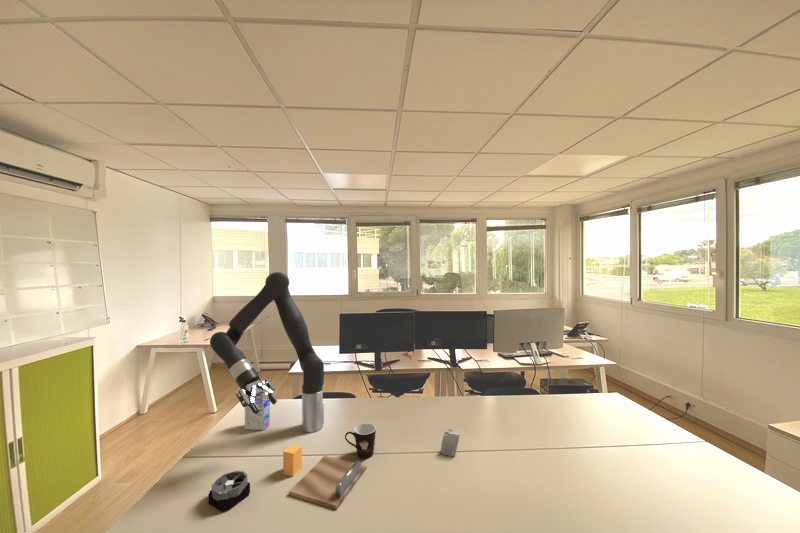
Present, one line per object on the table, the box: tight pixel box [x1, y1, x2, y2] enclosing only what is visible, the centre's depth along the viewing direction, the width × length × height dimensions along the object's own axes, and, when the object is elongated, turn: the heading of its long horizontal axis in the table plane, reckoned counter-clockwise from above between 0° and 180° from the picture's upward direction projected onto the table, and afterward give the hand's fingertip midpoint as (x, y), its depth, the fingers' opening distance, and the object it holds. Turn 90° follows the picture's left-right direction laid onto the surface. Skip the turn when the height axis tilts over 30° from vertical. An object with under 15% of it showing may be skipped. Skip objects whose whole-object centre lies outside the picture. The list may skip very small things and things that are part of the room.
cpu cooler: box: [208, 470, 251, 513], centre depth 97 cm, size 10×6×10 cm
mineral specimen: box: [440, 428, 461, 457], centre depth 120 cm, size 7×9×8 cm
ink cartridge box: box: [244, 394, 271, 431], centre depth 141 cm, size 10×6×14 cm, turn 83°
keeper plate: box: [288, 455, 368, 510], centre depth 104 cm, size 20×18×5 cm
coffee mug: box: [344, 422, 377, 460], centre depth 120 cm, size 12×9×10 cm
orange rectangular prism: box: [282, 444, 303, 477], centre depth 109 cm, size 4×4×8 cm
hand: (267, 407), depth 114 cm, fingers open, 8 cm apart
